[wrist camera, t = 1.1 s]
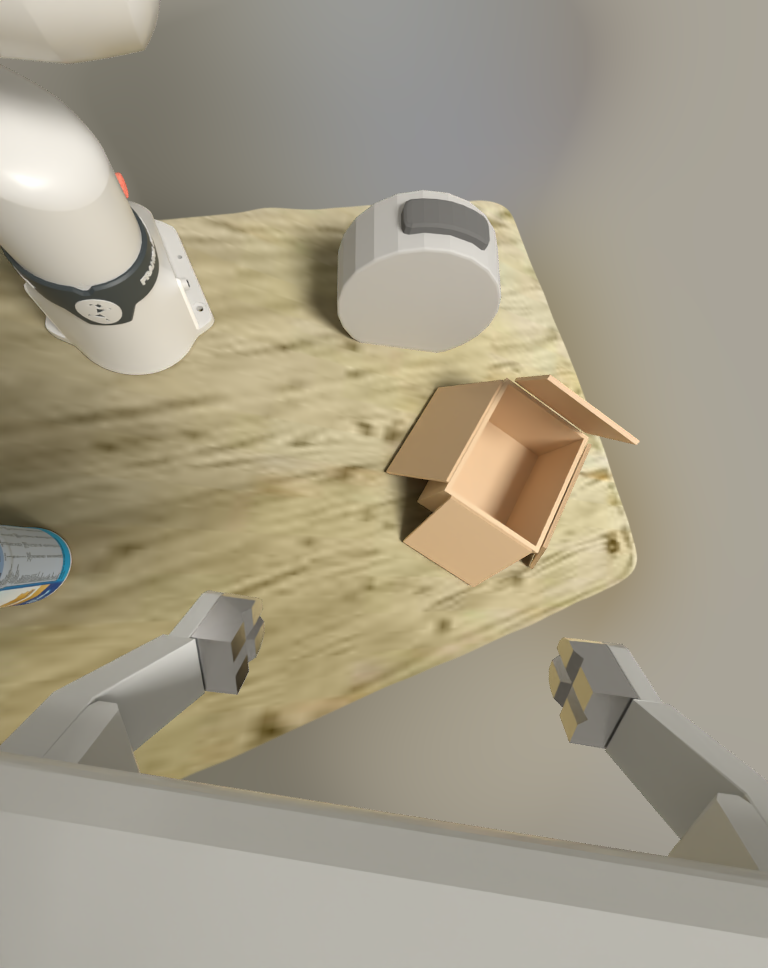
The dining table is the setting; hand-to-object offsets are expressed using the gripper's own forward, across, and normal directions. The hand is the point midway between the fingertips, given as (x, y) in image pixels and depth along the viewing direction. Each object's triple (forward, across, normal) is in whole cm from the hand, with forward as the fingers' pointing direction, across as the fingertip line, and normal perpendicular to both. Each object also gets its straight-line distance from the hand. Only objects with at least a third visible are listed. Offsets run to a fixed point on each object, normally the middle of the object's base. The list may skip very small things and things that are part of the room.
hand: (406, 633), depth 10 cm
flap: (+43, -18, +1) cm, 46 cm away
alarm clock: (+55, +4, -7) cm, 55 cm away
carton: (+43, -10, +15) cm, 47 cm away
